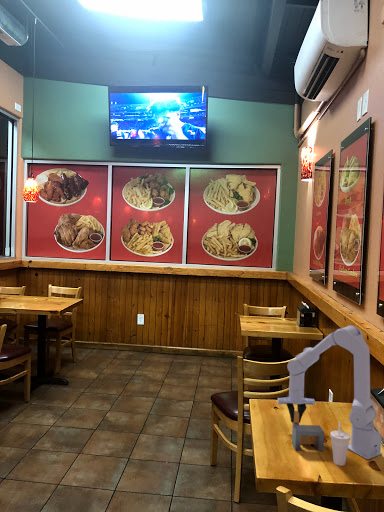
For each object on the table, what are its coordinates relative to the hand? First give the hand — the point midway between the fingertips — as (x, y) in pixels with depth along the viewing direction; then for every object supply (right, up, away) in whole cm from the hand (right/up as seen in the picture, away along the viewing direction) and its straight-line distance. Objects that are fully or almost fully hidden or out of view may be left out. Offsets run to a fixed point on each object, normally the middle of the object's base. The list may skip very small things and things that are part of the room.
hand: (295, 421), depth 164 cm
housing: (0, -2, -17) cm, 17 cm away
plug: (0, -2, -7) cm, 7 cm away
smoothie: (+8, -3, -27) cm, 28 cm away
